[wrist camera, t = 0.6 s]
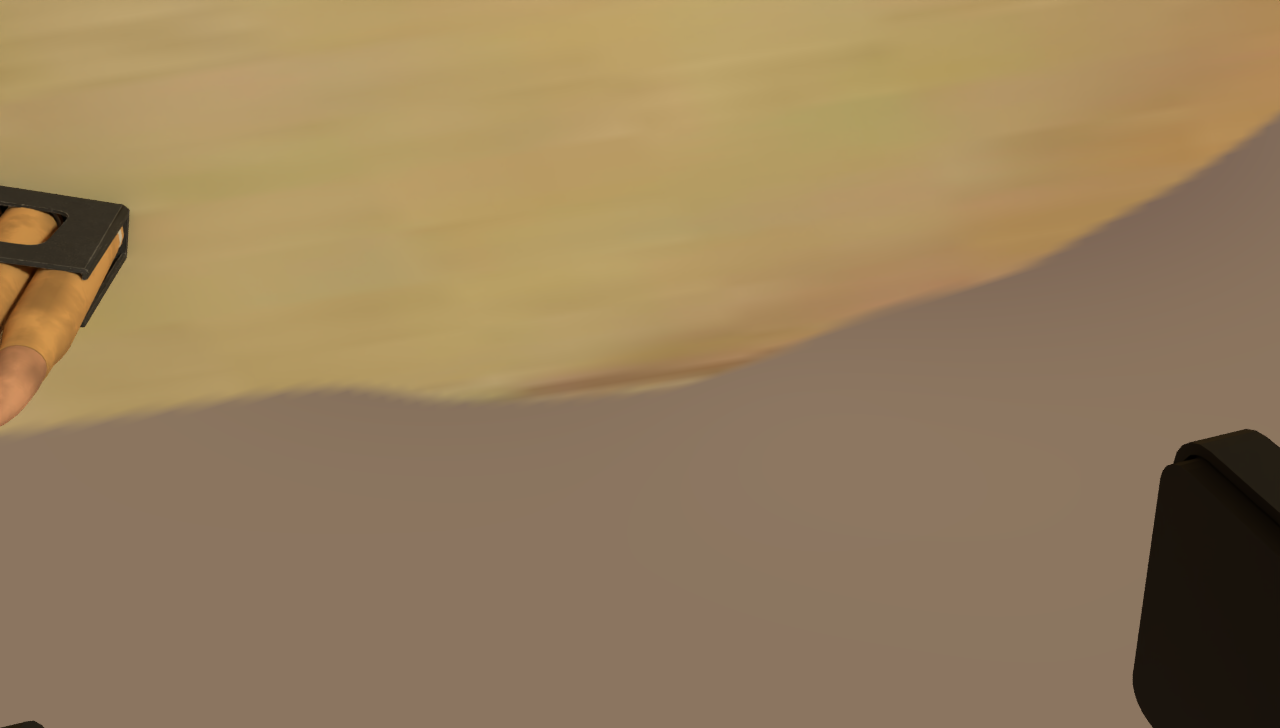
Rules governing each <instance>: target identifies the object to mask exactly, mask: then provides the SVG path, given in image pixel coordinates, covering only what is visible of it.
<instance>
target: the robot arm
mask: <svg viewBox="0 0 1280 728" xmlns="http://www.w3.org/2000/svg"><path fill="white" fill-rule="evenodd" d="M1133 688H1134V693H1135V696H1136V699H1137V702H1138V704H1139V706H1140V708H1141V710H1142V712H1143V714H1144V715H1145V717H1146V719H1147V720H1148V722H1149V723H1150V724H1151V725H1152V727H1153V728H1280V447H1278V446H1277V445H1276V444H1275V443H1273V442H1272V441H1271V440H1270V439H1268V438H1267V437H1266V436H1264V435H1262V434H1261V433H1259V432H1257V431H1254V430H1248V429H1244V430H1240V431H1236V432H1232V433H1228V434H1223V435H1219V436H1215V437H1211V438H1207V439H1203V440H1198V441H1194V442H1190V443H1187V444H1184V445H1182V446H1181V448H1180V449H1179V450H1178V452H1177V453H1176V456H1175V460H1174V464H1171V465H1168V466H1166V467H1165V469H1164V470H1163V472H1162V475H1161V478H1160V485H1159V492H1158V499H1157V506H1156V513H1155V520H1154V528H1153V534H1152V542H1151V549H1150V556H1149V563H1148V570H1147V578H1146V584H1145V592H1144V599H1143V607H1142V614H1141V620H1140V628H1139V634H1138V641H1137V649H1136V656H1135V663H1134V670H1133ZM2 728H44V727H43V726H42V725H40V724H39V723H37V722H35V721H28V722H23V723H19V724H14V725H10V726H6V727H2Z"/></svg>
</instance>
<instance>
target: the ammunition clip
mask: <svg viewBox="0 0 1280 728" xmlns="http://www.w3.org/2000/svg"><path fill="white" fill-rule="evenodd" d="M128 228H129V209H128V208H127V207H126V206H124V205H122V204H116V203H109V202H103V201H96V200H90V199H83V198H77V197H70V196H64V195H58V194H51V193H45V192H38V191H32V190H25V189H19V188H12V187H6V186H0V333H1V332H2V330H3V334H2V339H1V344H0V426H2V425H4V424H5V423H7V422H9V421H10V420H11V419H12V418H14V417H15V416H16V415H17V414H18V413H19V412H20V411H21V410H22V409H23V408H24V407H25V406H26V405H27V403H28V402H29V401H30V400H31V398H32V397H33V396H34V395H35V393H36V392H37V390H38V389H39V387H40V385H41V383H42V381H43V380H44V379H45V378H46V376H47V375H48V373H49V372H50V370H51V368H52V367H53V365H55V364H56V363H57V362H58V361H59V360H60V359H61V358H62V357H63V356H64V354H65V353H66V352H67V351H68V349H69V348H70V346H71V344H72V342H73V340H74V338H75V336H76V334H77V332H78V330H79V328H80V327H85V326H86V324H87V322H88V321H89V319H90V317H91V316H92V314H93V312H94V311H95V309H96V307H97V306H98V304H99V303H100V301H101V299H102V298H103V296H104V294H105V293H106V291H107V289H108V288H109V286H110V284H111V283H112V281H113V279H114V278H115V276H116V274H117V273H118V271H119V269H120V268H121V266H122V264H123V263H124V261H125V260H126V258H127V245H128Z"/></svg>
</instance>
